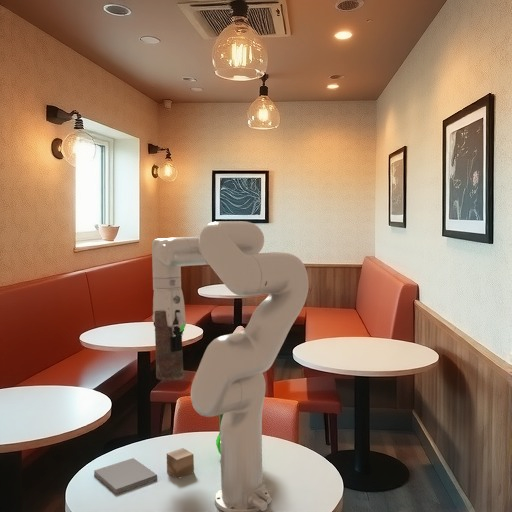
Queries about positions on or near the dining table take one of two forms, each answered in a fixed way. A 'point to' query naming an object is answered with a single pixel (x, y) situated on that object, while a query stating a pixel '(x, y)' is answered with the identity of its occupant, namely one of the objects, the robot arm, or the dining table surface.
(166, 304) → the robot arm
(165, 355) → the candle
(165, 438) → the dining table surface
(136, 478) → the slate board
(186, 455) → the walnut block
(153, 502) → the dining table surface
